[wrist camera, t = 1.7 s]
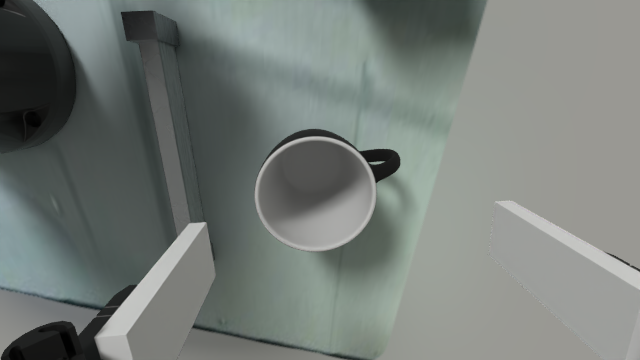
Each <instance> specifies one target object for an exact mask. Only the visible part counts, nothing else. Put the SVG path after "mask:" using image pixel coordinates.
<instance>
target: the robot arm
mask: <svg viewBox="0 0 640 360" xmlns="http://www.w3.org/2000/svg"><path fill="white" fill-rule="evenodd" d="M75 92H76V79H75V71H74V66H73V62H72V58H71V55H70V52H69V50H68V47H67V45H66V43H65V41H64V39H63V37H62V35H61V34H60V32H59V30H58V29H57V27H56V26H55V24H54V23H53V22H52V20H51V19H50V18H49V17H48V15H47V14H46V13H45V12H44V11H43V10H42V9H41V8H40V7H39V6H38V5H37V4H36V3H35V2H34V1H33V0H0V153H6V152H11V151H16V150H20V149H25V148H29V147H32V146H35V145H38V144H40V143H42V142H44V141H46V140H48V139H49V138H51V137H52V136H53V135H55V134H56V133H57V132H58V131H59V130H60V129H61V127H62V126H63V125H64V124H65V122H66V120H67V119H68V117H69V115H70V113H71V110H72V107H73V104H74V99H75ZM489 255H490V256H491V257H492V258H493V259H494V260H495V261H496V262H497V263H498V264H499V265H500V266H501V267H503V268H504V269H505V270H506V271H507V272H508V273H509V274H510V275H511V276H512V277H513V278H515V279H516V280H517V281H518V282H519V283H520V284H521V285H522V286H523V287H524V288H525V289H526V290H528V291H529V292H530V293H531V294H532V295H533V296H534V297H535V298H536V299H537V300H538V301H540V302H541V303H542V304H543V305H544V306H545V307H546V308H547V309H548V310H549V311H551V312H552V313H553V314H554V315H555V316H556V317H557V318H558V319H559V320H560V321H561V322H562V323H564V324H565V325H566V326H567V327H568V328H569V329H570V330H571V331H572V332H573V333H574V334H576V335H577V336H578V337H579V338H580V339H581V340H582V341H583V342H584V343H585V344H587V345H588V346H589V347H590V348H591V349H592V350H593V351H594V352H595V353H596V354H597V355H598V356H600V357H601V358H602V359H603V360H640V269H638V268H636V267H634V266H630V264H629V263H627V262H625V261H623V260H622V259H619V258H618V257H616V256H614V255H611V254H609V253H606V252H603V251H601V250H599V249H597V248H596V247H594V246H592V245H590V244H588V243H587V242H585V241H583V240H581V239H579V238H578V237H576V236H574V235H572V234H570V233H569V232H567V231H565V230H563V229H561V228H560V227H558V226H556V225H554V224H552V223H551V222H549V221H547V220H545V219H543V218H541V217H540V216H538V215H536V214H534V213H533V212H531V211H529V210H527V209H525V208H524V207H522V206H520V205H518V204H516V203H515V202H513V201H497V202H495V204H494V213H493V221H492V231H491V239H490V249H489ZM215 277H216V273H215V268H214V262H213V256H212V251H211V245H210V239H209V234H208V228H207V222H202V223H189V224H188V225H187V227H186V228H185V229H184V230H183V231H182V233H181V234H180V235H179V236H178V237H177V239H176V240H175V241H174V242H173V243H172V245H171V246H170V247H169V248H168V249H167V251H166V252H165V253H164V254H163V255H162V257H161V258H160V259H159V260H158V261H157V263H156V264H155V265H154V266H153V267H152V269H151V270H150V271H149V272H148V273H147V275H146V276H145V277H144V278H143V279H142V281H141V282H140V283H139V284H138V285H129V286H128V287H126V288H125V289H123V290H122V291H120V292H119V293H117V294H116V295H115V296H114V297H113V298H112V299H111V300H110V301H109V302H108V303H107V304H106V306H105V308H103V309H102V310H101V311H100V312H99V313H98V314H97V317H96V318H94V319H93V320H92V321H91V323H89V324H88V326H87V327H86V328H85V329H84V330H83V331H82V332H81V333H80V334H79V336H78V335H77V332H76V329H75V327H74V326H73V324H72V323H71V322H66V321H60V322H53V323H49V324H46V325H43V326H40V327H37V328H35V329H33V330H31V331H29V332H27V333H25V334H24V335H22V336H21V337H19V338H18V339H16V340H15V341H13V342H12V343H11V344H10V345H9V346H8V347H7V348H6V349H5V350H4V352H3V354H2V356H1V360H177V358H178V356H179V354H180V352H181V350H182V348H183V345H184V343H185V341H186V339H187V337H188V335H189V333H190V330H191V328H192V326H193V324H194V322H195V320H196V318H197V315H198V313H199V311H200V309H201V307H202V305H203V302H204V300H205V298H206V296H207V294H208V292H209V290H210V287H211V285H212V283H213V281H214V279H215Z"/></svg>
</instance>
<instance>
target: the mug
mask: <svg viewBox="0 0 640 360" xmlns="http://www.w3.org/2000/svg"><path fill="white" fill-rule="evenodd" d="M377 161H386V162H384V163H381V164H377V165H372V164H369V163H368V162H377ZM399 167H400V157H399V155H398V153H397V152H395V151H394V150H390V149H374V150H366V151H358V150H357V149H356V148H355V147H354V146H353V145H352V144H351V143H349V142H348V141H347V140H345V139H344V138H342V137H340V136H338V135H336V134H334V133H332V132H329V131H326V130H321V129H307V130H302V131H299V132H296V133H294V134H292V135H290V136H288V137H287V138H285V139H284V140H283V141H281V142H280V143H279V144H278V145H277V146H276V147H275V148H274V149H273V150H272V151H271V153H270V154H269V155H268V156H267V158H266V160H265V161H264V163H263V164H262V166H261V169H260V171H259V173H258V176H257V180H256V184H255V204H256V209H257V212H258V215H259V217H260V219H261V221H262V223H263V225H264V226H265V227H266V229H267V230H268V231H269V232H270V233H271V234H272V235H273V236H274V237H275V238H276V239H278V240H279V241H280V242H282V243H284V244H286V245H288V246H290V247H292V248H295V249H298V250H303V251H311V252H320V251H327V250H331V249H335V248H338V247H340V246H342V245H344V244H346V243H348V242H350V241H351V240H352V239H354V238H355V237H356V236H357V235H359V234H360V233H361V231H362V230H363V229H364V228H365V227H366V225H367V224H368V222H369V221H370V219H371V217H372V214H373V212H374V209H375V205H376V198H377V189H376V183H377V182H378V181H380V180H382V179H384V178H386V177H388V176H390V175H391V174H393V173H395V172H396V171H397V170H398V168H399Z"/></svg>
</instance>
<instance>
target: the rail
mask: <svg viewBox="0 0 640 360" xmlns="http://www.w3.org/2000/svg"><path fill="white" fill-rule="evenodd" d="M121 15H122V20H123V25H124V30H125V35H126V39H127V41H130V42H134V43H138V44H139V47H140V52H141V57H142V62H143V67H144V72H145V77H146V82H147V87H148V92H149V97H150V102H151V107H152V112H153V117H154V122H155V127H156V132H157V137H158V142H159V147H160V152H161V157H162V162H163V167H164V172H165V177H166V182H167V187H168V193H169V198H170V203H171V208H172V213H173V218H174V223H175V228H176V233H177V237H178V236H179V235H180V234H181V233H182V231H183V230H184V229H185V228H186V227H187V225H188V224H189V223H202V222H204V217H203V211H202V205H201V199H200V193H199V187H198V181H197V175H196V169H195V164H194V158H193V152H192V146H191V140H190V134H189V128H188V122H187V116H186V110H185V104H184V98H183V92H182V87H181V81H180V75H179V69H178V63H177V57H176V51H175V46H180V45H179V39H178V33H177V27H176V22H175V21H173V20H171V19H169V18H167V17H165V16H163V15H161V14H159V13H157V12H155V11H131V12H121ZM210 245H211V251H212V256H213V262H214V260H215V257H214V251H213V245H212V243H210Z"/></svg>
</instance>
